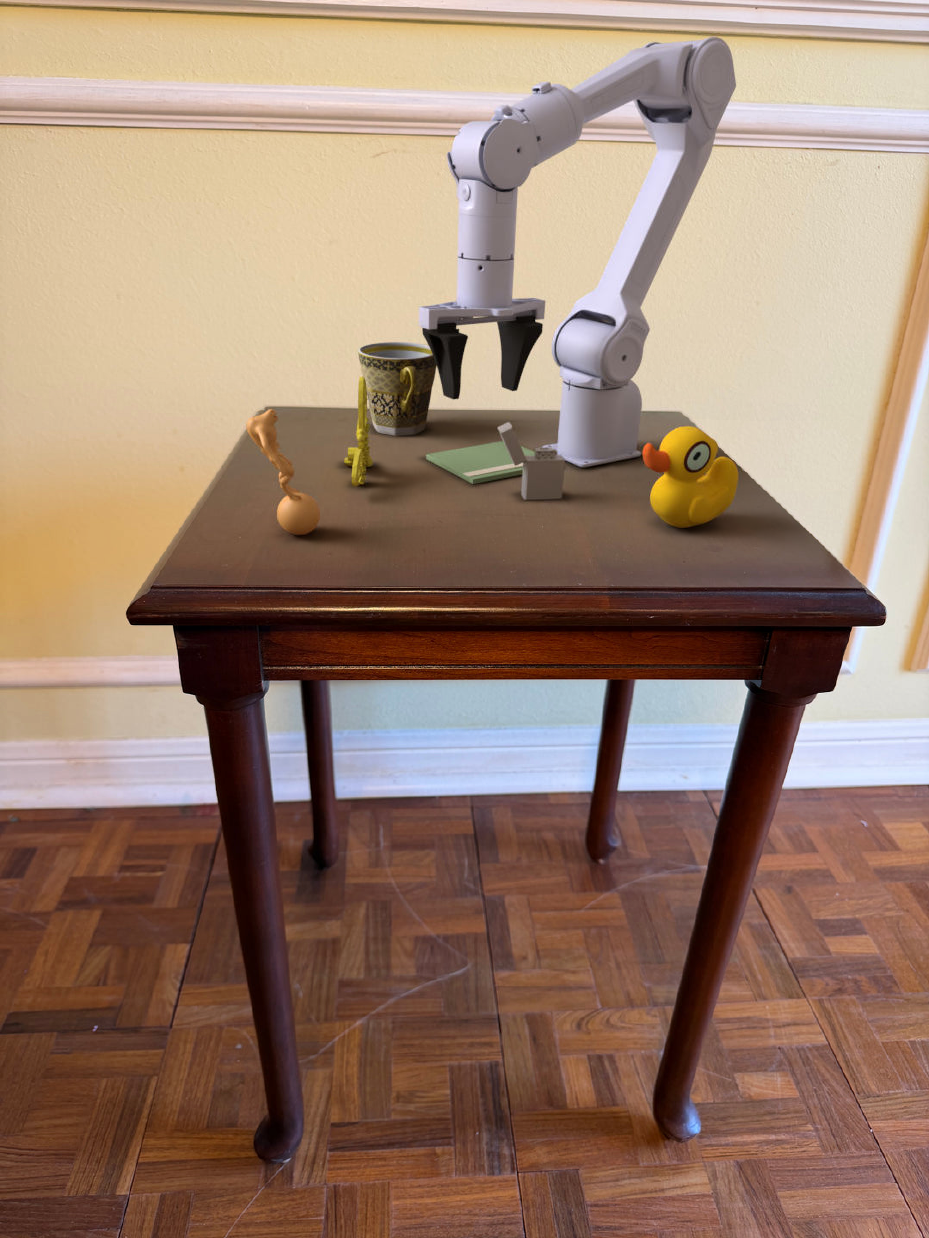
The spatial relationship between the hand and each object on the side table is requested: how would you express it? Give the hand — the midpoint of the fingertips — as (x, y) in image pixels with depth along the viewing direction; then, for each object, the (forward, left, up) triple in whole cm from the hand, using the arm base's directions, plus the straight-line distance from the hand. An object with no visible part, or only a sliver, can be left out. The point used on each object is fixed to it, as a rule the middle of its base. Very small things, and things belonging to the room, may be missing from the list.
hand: (480, 393), depth 95 cm
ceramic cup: (-1, -19, -10) cm, 21 cm away
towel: (-4, -3, -9) cm, 11 cm away
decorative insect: (+13, -5, -10) cm, 17 cm away
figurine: (+25, +5, -10) cm, 27 cm away
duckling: (-10, +22, -10) cm, 26 cm away
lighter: (-1, +8, -10) cm, 13 cm away
